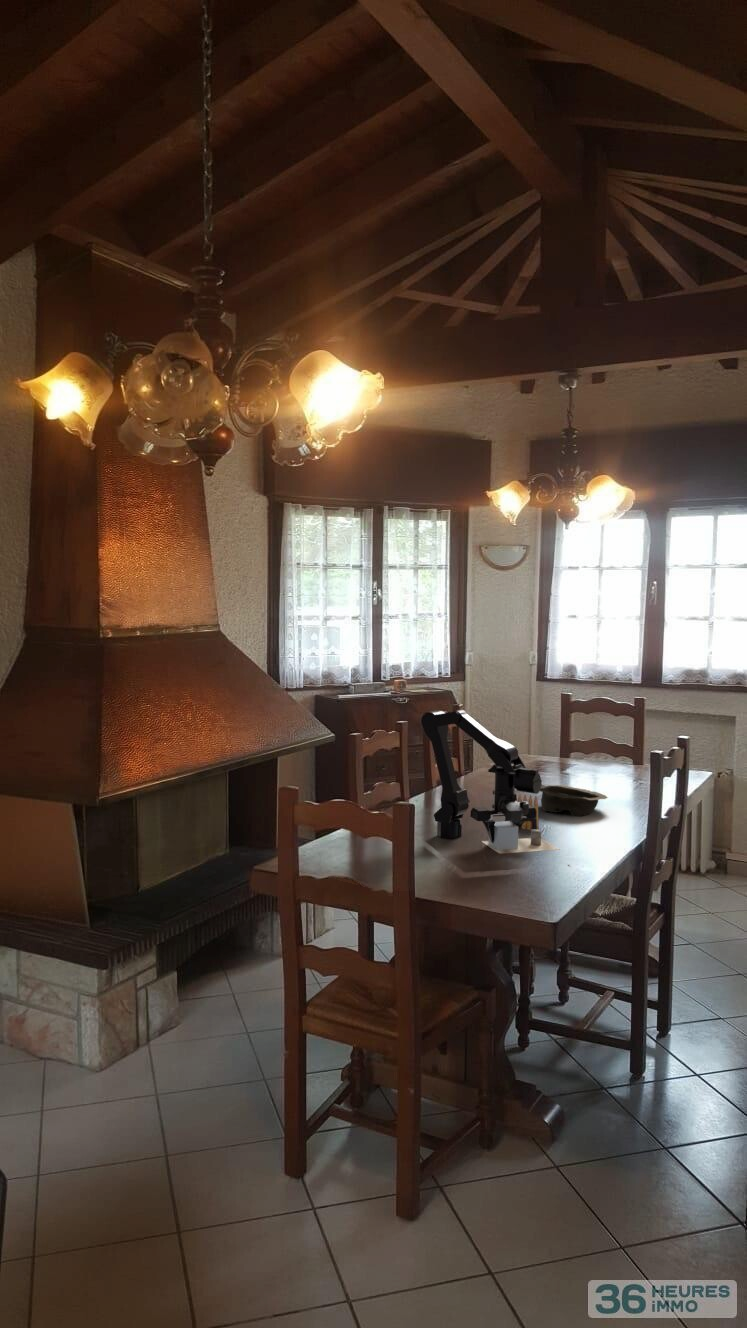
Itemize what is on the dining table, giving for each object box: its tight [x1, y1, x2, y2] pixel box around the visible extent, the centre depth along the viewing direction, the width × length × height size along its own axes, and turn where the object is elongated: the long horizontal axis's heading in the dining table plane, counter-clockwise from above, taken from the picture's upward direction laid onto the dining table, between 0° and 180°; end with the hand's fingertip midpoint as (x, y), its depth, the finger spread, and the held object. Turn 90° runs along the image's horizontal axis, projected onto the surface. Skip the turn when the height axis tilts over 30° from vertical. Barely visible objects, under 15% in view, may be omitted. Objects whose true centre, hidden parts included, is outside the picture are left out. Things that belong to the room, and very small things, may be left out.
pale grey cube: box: [487, 820, 519, 850], centre depth 261 cm, size 6×6×6 cm
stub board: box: [481, 829, 561, 855], centre depth 263 cm, size 19×13×5 cm
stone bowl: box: [539, 783, 609, 817], centre depth 312 cm, size 25×25×9 cm
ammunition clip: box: [504, 793, 540, 831], centre depth 283 cm, size 11×2×12 cm, turn 60°
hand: (503, 841), depth 262 cm, fingers closed on pale grey cube, 6 cm apart
